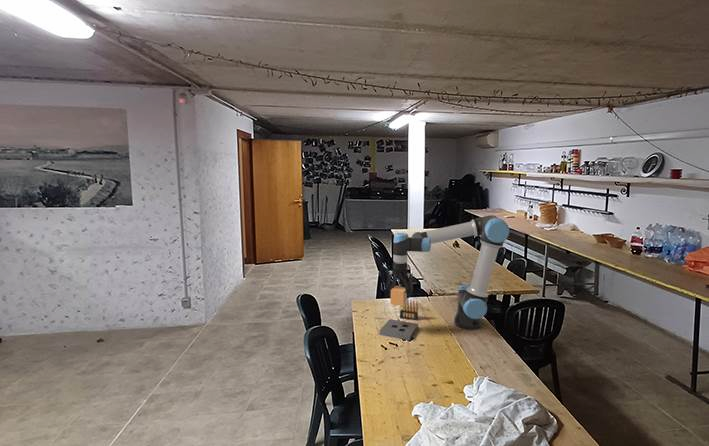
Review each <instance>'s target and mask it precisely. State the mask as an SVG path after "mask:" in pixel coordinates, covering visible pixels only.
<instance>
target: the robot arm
mask: <svg viewBox="0 0 709 446" xmlns="http://www.w3.org/2000/svg"><path fill="white" fill-rule="evenodd" d="M509 235H510V227H509V224H508V222H506V221H505V220H504V219H503V218H500V217H498V216H497V215H492V214H491V215H485V216H481V217H477V218H473V219H471V220H470V221H468V222H463V223H460V224H459V223H458V224H454V225H449V226H444V227H439V228H436V229H431V230H427V231H422V232H421V231H416V232H414V233H412V235H411V237H410V236H409V234H408V233H406V232H396V233H394V234H393V255H392V257H393V258H392V261H393V262H392V270H388V271H387V272H386V274H387V277H386V278H387V279H386V280H387V281H386V286H385V288H386V289H387V290H388V291H389V294H388V296H389V297H391V289H392V288H394V287H395V285H396V282H397V280H401V281H402V284H403V285H404V286H403V287H405V289H406V293H405V305H406V304H407V303H408V301H409V299H410V294H411V293H412V292H414V283H413V275H414V274H413V273H412V272H411V273H410V272H408V254H409V253H408V252H417V253H430V252H431V250H432V249H431V247H432V244H438V243H442V242H448V241H451V240H457V239H462V238H466V237H472V236H475V237H480V238H479V241H480V243H481V245H480V249H479V254H478V256H477V257H478V258H477V261H476V264H475V267H474V270H473V271H474V272H473V274H472V278H471V283H470V284H468V283H467V284H460V285H459V286H458V288H457V291H458V293H457V294H458V295H457V310H456V313H455V315H454V318H453V323H454V325H455V326H456V327H458V328H461V329H466V330H477V329H480V328H481V327H482V319H481V318H483V317H484V316H485V315H487V312H488V305H487V302H488V298H489V294H488V292H487V290H488V288H489V283H490V281H491V277H492V273H493V270H494V266H495V263H496V260H497V256H498V253H499V249H500V248H503V245H504V244H505V243H504V242H505V241H506V240H508V237H509ZM392 275H393V276H394V277H393V280H392ZM407 278H408V281H407ZM391 281H392V282H391ZM406 306H407V305H406Z"/></svg>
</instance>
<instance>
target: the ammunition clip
mask: <svg viewBox="0 0 709 446" xmlns="http://www.w3.org/2000/svg"><path fill="white" fill-rule="evenodd" d="M399 319H401V320H402V319H403V320H409V321H410V320H411V321H418V320H419V307H418V300H416V301H415V300H414V299H413V300H412V299H410V300H408V303H407V305H406V306H404V309H403V310H402V309H400V310H399Z"/></svg>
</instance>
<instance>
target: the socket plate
mask: <svg viewBox="0 0 709 446" xmlns="http://www.w3.org/2000/svg"><path fill="white" fill-rule="evenodd" d="M418 329H419V323H415V322H408V321H405V320H398V319H393V318H392V319H391V318H389V319H388V320H387V321H386V323H384V325H383V326H382V327H381V328H380V329H379V332H378V333H379V334H378V335H379V336H385V337H389V338H395V339H398V340H399V339H400V340H406V341H411V339H412V338H413V337H414V335H415V334H416V332H417V331H418Z"/></svg>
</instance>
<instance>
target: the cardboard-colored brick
mask: <svg viewBox="0 0 709 446" xmlns="http://www.w3.org/2000/svg"><path fill="white" fill-rule="evenodd" d="M405 293H406V289H405V286H402V285H401V286H400V285H394V287H393V288H392V289H391V296H390V305H392V306H393V307H396V306H399V308H400V309H402V310H403V309H404V306H407V304H406V305H405Z"/></svg>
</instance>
